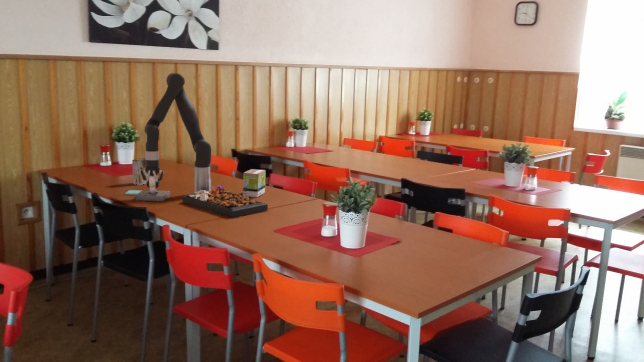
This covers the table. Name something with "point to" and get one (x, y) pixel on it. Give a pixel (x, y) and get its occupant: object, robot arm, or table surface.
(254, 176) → the tea box
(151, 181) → the cream rounded tapered piece
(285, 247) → the table surface
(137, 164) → the coffee box
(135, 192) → the teal square tile
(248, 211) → the food platter
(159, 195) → the socket block
